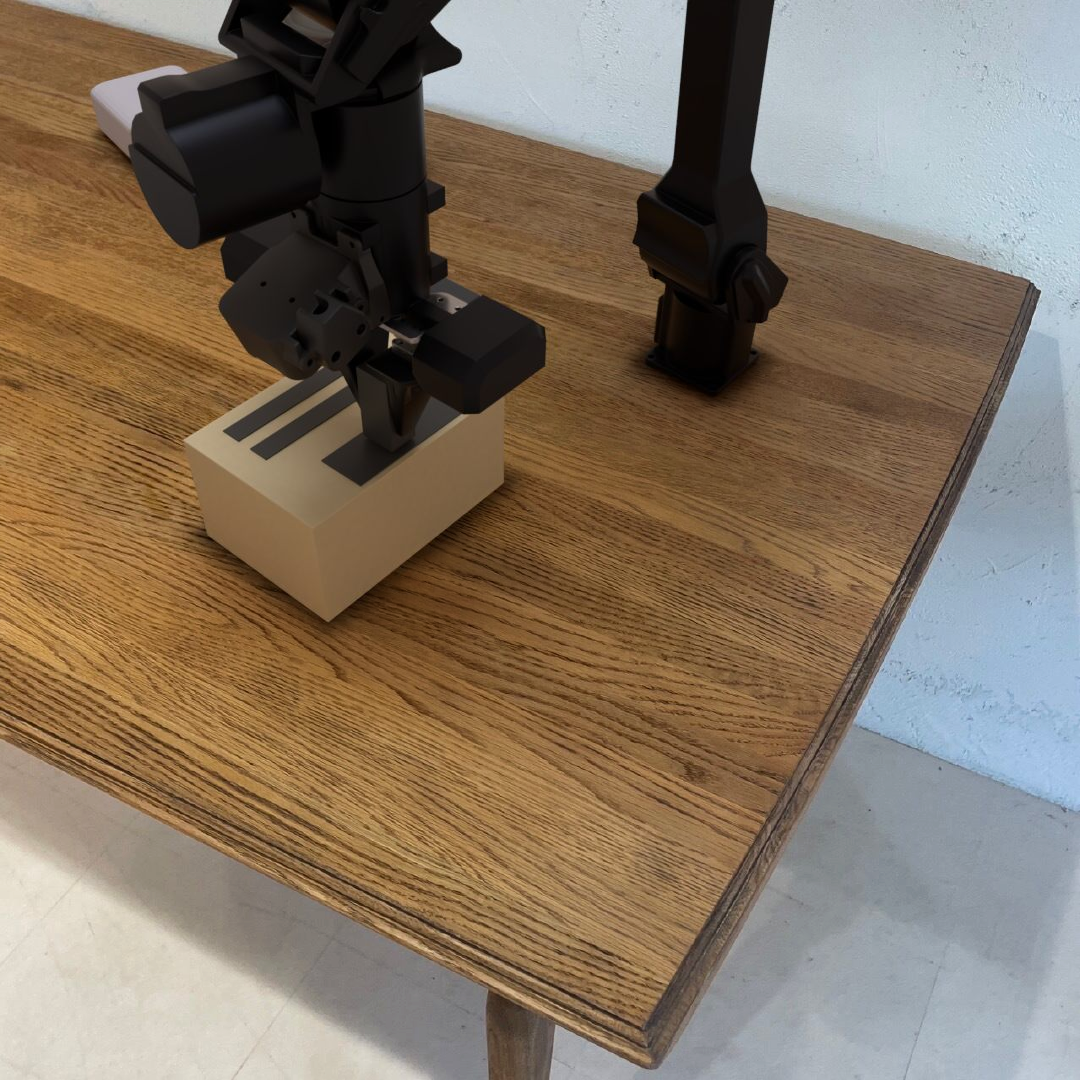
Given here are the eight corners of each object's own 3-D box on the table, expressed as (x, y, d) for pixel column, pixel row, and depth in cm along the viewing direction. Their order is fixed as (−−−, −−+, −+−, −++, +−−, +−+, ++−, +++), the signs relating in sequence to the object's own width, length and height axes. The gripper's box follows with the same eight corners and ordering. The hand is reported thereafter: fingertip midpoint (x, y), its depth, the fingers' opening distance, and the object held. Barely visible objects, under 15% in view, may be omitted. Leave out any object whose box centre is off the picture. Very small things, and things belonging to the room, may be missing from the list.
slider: (416, 436, 67) (411, 367, 63) (392, 453, 66) (386, 384, 62) (386, 418, 68) (380, 350, 64) (362, 435, 67) (355, 366, 63)
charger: (168, 202, 100) (100, 134, 108) (264, 172, 104) (191, 109, 112) (157, 151, 96) (87, 85, 104) (256, 123, 100) (181, 61, 108)
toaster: (504, 483, 76) (505, 387, 70) (328, 623, 67) (312, 527, 62) (386, 413, 81) (377, 317, 75) (207, 535, 72) (181, 438, 66)
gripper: (106, 168, 54) (172, 420, 65) (387, 322, 46) (408, 579, 58) (283, 91, 60) (316, 334, 72) (558, 216, 52) (547, 467, 64)
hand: (388, 422), depth 66 cm, fingers closed on slider, 2 cm apart
